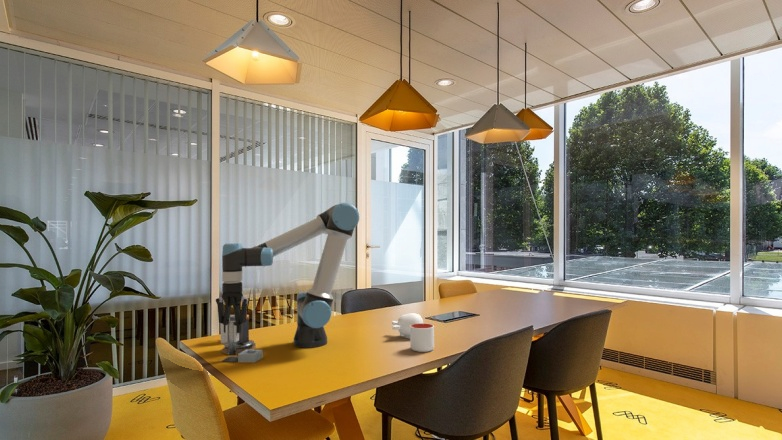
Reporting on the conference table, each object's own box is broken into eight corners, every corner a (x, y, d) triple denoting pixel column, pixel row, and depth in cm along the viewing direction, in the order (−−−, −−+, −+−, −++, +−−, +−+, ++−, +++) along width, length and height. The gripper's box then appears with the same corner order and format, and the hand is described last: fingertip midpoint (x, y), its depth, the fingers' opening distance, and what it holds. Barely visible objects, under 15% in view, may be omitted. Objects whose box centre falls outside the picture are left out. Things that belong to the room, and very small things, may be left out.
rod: (233, 355, 171) (233, 322, 172) (226, 355, 172) (226, 322, 172) (237, 353, 174) (237, 320, 174) (230, 353, 175) (230, 320, 175)
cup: (437, 347, 187) (437, 324, 187) (429, 354, 178) (429, 329, 178) (415, 345, 191) (415, 322, 191) (406, 351, 182) (406, 327, 182)
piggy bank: (424, 338, 209) (393, 341, 209) (421, 313, 213) (391, 316, 213) (425, 336, 198) (393, 339, 197) (423, 310, 201) (390, 313, 201)
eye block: (262, 357, 176) (262, 349, 176) (254, 362, 169) (254, 354, 169) (246, 356, 177) (246, 349, 177) (237, 361, 170) (237, 354, 170)
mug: (236, 343, 199) (236, 316, 199) (220, 344, 196) (220, 318, 196) (234, 338, 208) (234, 313, 208) (219, 339, 205) (219, 314, 205)
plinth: (255, 347, 191) (255, 342, 191) (244, 354, 181) (244, 348, 181) (234, 347, 192) (234, 342, 192) (222, 353, 182) (222, 348, 182)
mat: (243, 357, 175) (243, 356, 175) (236, 362, 170) (236, 361, 170) (229, 357, 176) (229, 356, 176) (221, 361, 170) (221, 360, 170)
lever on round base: (243, 340, 195) (243, 310, 195) (259, 344, 187) (259, 313, 188) (218, 346, 185) (218, 314, 186) (235, 350, 178) (234, 317, 178)
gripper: (255, 281, 176) (255, 339, 176) (218, 280, 178) (218, 338, 178) (246, 283, 169) (246, 344, 168) (208, 282, 171) (208, 342, 170)
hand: (232, 340), depth 173 cm, fingers closed on rod, 3 cm apart
